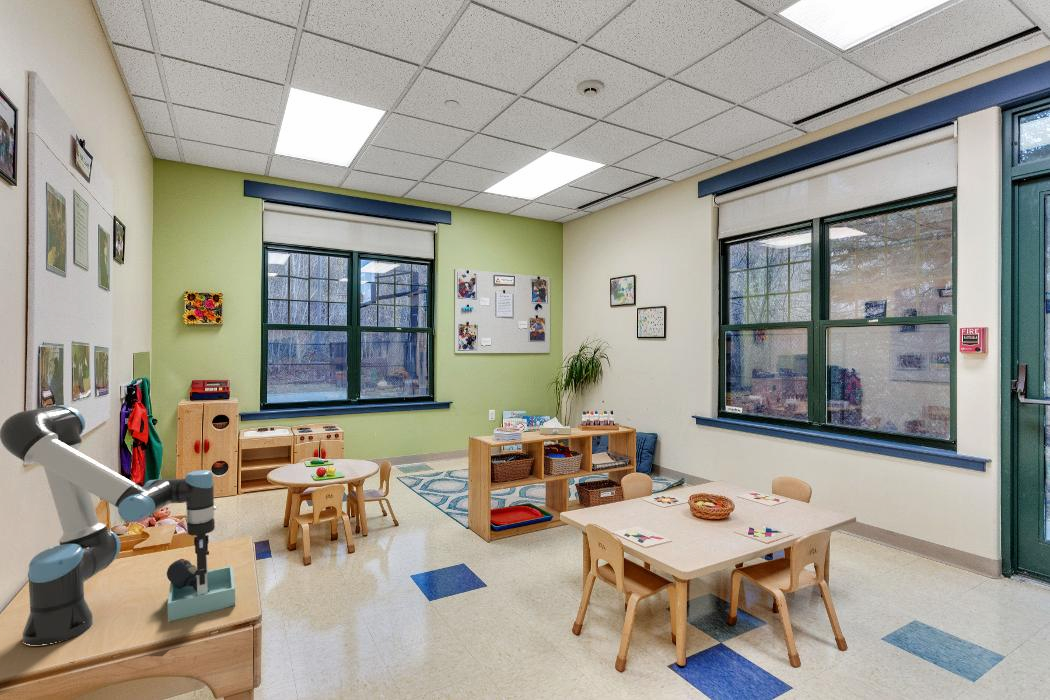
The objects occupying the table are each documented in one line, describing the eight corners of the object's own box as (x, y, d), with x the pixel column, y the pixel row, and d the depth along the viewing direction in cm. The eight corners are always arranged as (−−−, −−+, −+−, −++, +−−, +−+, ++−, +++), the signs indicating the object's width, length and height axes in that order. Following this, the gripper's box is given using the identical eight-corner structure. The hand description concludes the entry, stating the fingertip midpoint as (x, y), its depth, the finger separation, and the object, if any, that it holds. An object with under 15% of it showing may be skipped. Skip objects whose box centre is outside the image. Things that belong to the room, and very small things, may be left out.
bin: (168, 621, 156) (167, 603, 156) (171, 594, 172) (171, 578, 172) (235, 605, 166) (234, 588, 165) (232, 581, 182) (232, 565, 181)
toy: (207, 585, 166) (175, 554, 168) (186, 607, 164) (155, 574, 166) (220, 583, 175) (190, 553, 177) (201, 603, 172) (171, 573, 174)
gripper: (214, 529, 159) (216, 598, 160) (213, 506, 181) (215, 567, 181) (185, 534, 155) (187, 605, 156) (188, 510, 177) (189, 572, 178)
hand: (202, 584), depth 169 cm, fingers open, 13 cm apart
